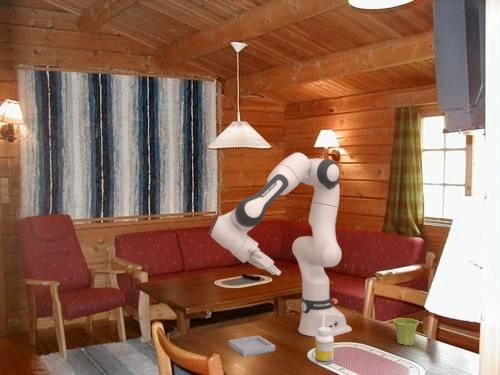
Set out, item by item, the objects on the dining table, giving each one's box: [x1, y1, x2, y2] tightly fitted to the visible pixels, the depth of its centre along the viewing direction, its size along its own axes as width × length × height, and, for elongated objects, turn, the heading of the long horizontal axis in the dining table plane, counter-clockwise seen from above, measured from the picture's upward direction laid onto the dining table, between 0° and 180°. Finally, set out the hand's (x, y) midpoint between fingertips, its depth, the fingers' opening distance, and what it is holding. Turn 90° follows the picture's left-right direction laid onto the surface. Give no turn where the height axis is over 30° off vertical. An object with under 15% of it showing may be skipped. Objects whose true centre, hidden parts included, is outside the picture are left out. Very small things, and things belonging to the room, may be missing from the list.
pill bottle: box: [314, 327, 335, 365], centre depth 191 cm, size 6×6×12 cm
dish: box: [228, 335, 276, 358], centre depth 204 cm, size 13×13×2 cm
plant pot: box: [393, 317, 419, 346], centre depth 210 cm, size 9×9×9 cm
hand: (277, 273), depth 198 cm, fingers open, 8 cm apart
